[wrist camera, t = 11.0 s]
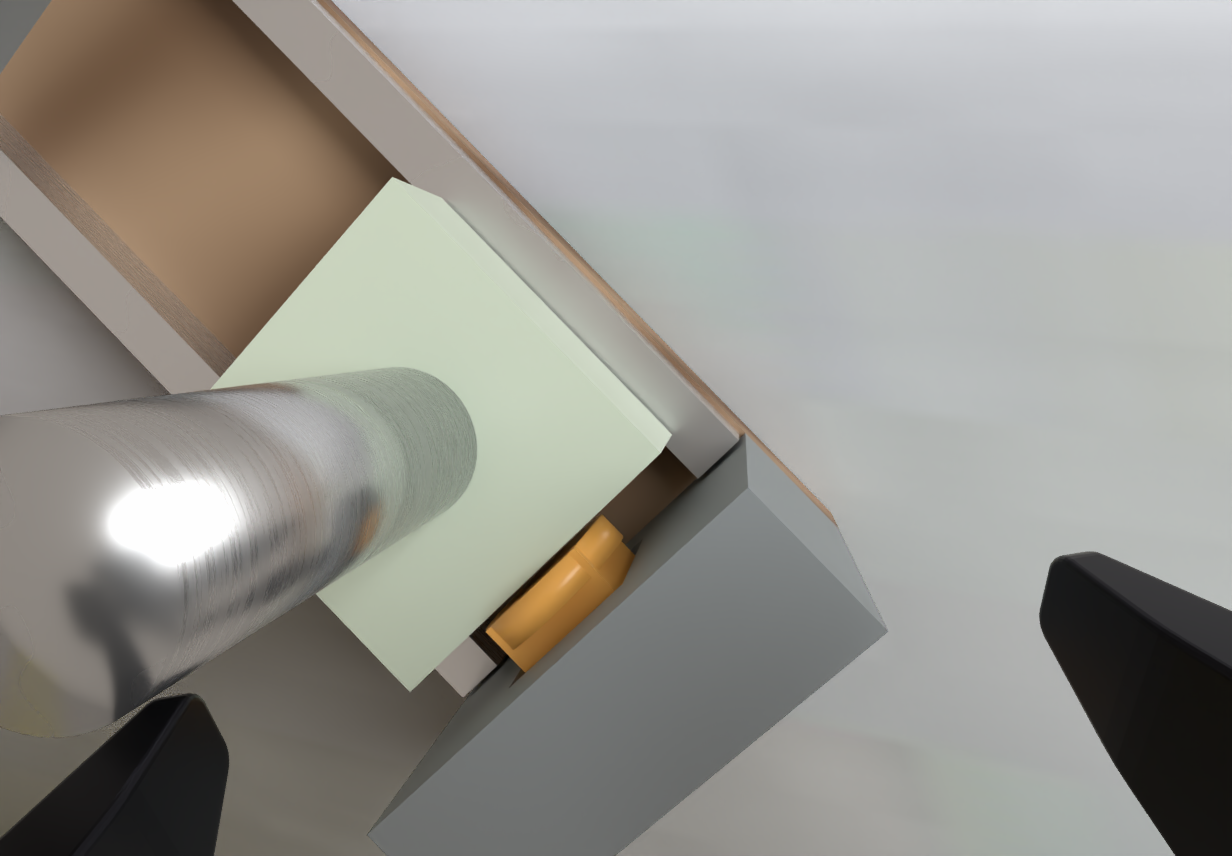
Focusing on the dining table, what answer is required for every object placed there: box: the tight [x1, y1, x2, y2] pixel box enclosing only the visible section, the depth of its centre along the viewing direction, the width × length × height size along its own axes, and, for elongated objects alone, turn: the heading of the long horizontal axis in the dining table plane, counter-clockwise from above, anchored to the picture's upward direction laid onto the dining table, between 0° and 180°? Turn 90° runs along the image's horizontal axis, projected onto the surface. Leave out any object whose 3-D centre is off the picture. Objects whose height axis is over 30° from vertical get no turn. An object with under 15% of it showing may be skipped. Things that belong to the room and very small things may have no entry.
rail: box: [0, 0, 888, 856], centre depth 16 cm, size 23×9×8 cm, turn 45°
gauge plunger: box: [486, 514, 635, 673], centre depth 16 cm, size 4×3×3 cm
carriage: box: [0, 177, 672, 738], centre depth 12 cm, size 7×7×10 cm
